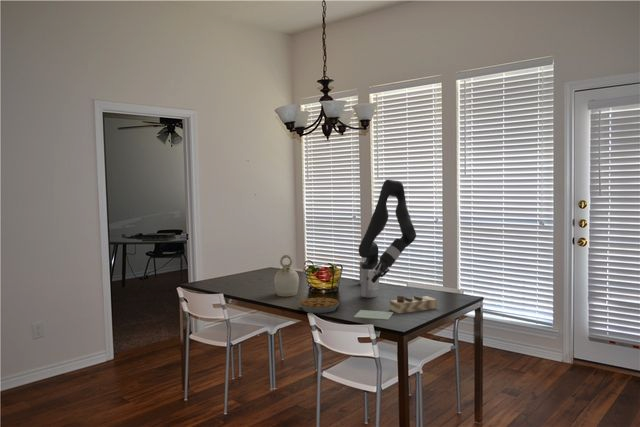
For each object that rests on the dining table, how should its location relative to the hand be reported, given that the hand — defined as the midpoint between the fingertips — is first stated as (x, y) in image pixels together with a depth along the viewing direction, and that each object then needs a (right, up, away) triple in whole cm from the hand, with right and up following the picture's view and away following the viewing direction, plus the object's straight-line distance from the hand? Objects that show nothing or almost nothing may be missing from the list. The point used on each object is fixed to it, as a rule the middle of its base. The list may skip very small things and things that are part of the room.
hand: (370, 280), depth 263 cm
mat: (+2, -18, +2) cm, 18 cm away
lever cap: (+2, -5, +1) cm, 5 cm away
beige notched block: (+25, -17, +13) cm, 33 cm away
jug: (-47, -16, +54) cm, 73 cm away
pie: (-26, -18, +18) cm, 37 cm away
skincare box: (+6, -13, +82) cm, 83 cm away
